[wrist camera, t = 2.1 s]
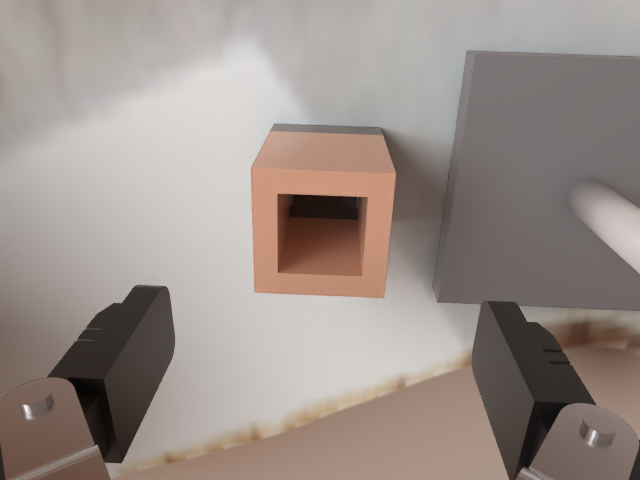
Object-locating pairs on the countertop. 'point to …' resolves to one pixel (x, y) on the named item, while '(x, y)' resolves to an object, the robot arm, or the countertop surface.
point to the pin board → (544, 183)
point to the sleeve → (322, 211)
